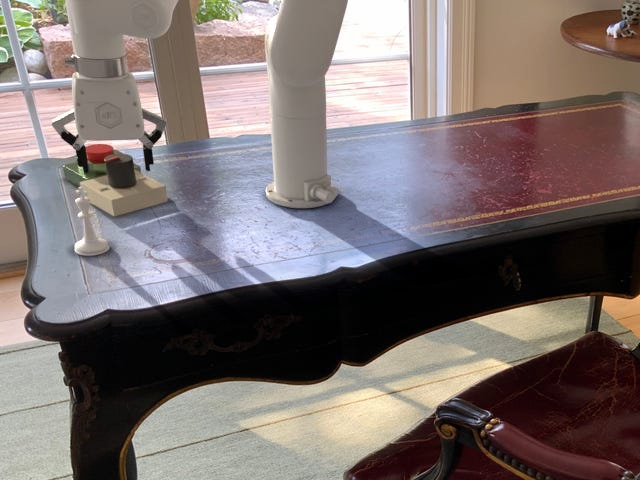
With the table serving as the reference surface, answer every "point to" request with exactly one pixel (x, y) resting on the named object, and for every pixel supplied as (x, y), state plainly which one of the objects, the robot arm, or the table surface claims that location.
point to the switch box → (95, 170)
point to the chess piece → (88, 229)
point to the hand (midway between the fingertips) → (117, 169)
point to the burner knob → (120, 170)
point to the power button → (98, 152)
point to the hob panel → (124, 194)
